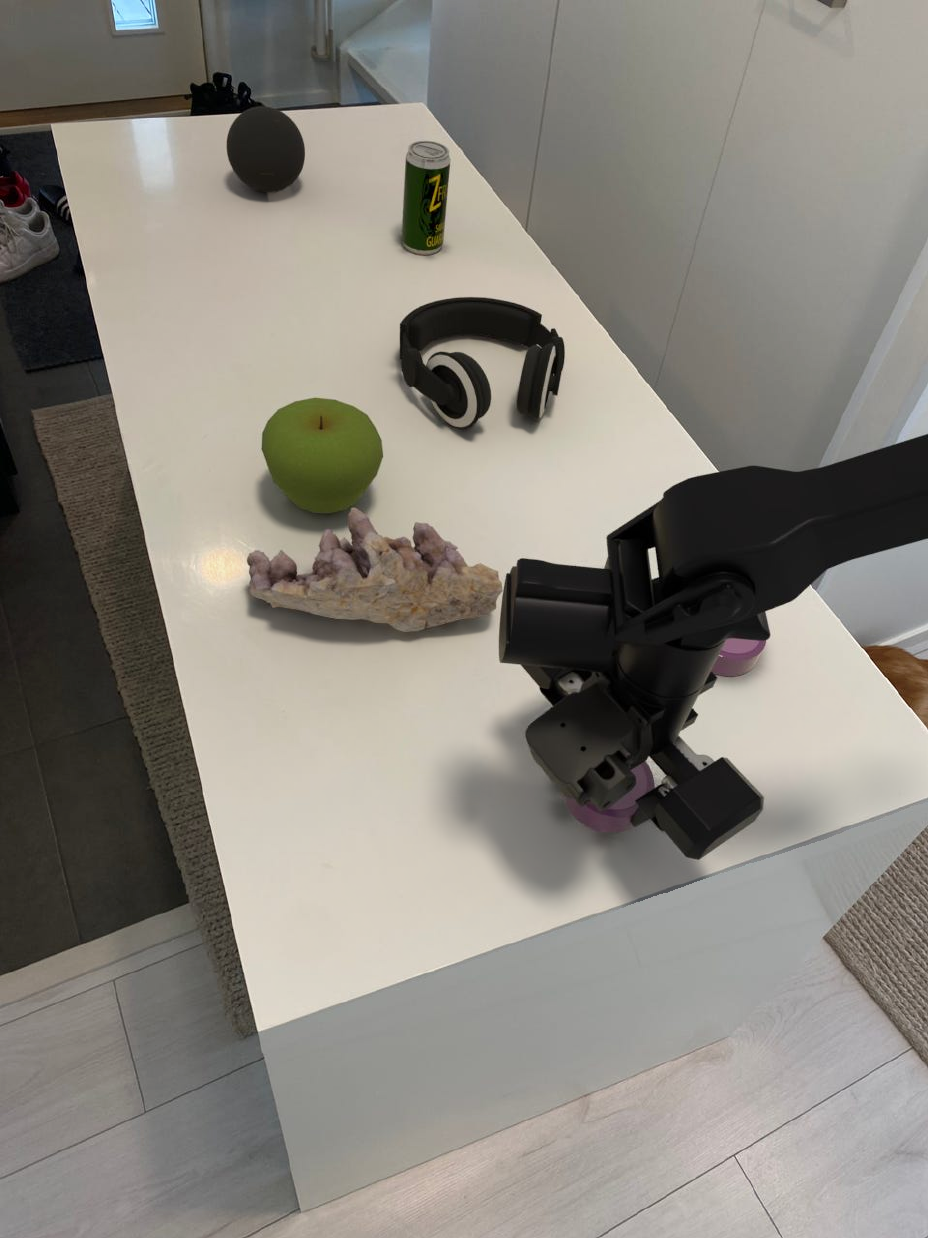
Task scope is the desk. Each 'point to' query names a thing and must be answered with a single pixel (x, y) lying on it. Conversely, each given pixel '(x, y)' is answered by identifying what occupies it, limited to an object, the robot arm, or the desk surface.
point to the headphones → (458, 376)
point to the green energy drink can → (425, 197)
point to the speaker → (265, 149)
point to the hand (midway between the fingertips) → (607, 787)
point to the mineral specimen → (379, 579)
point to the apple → (322, 453)
